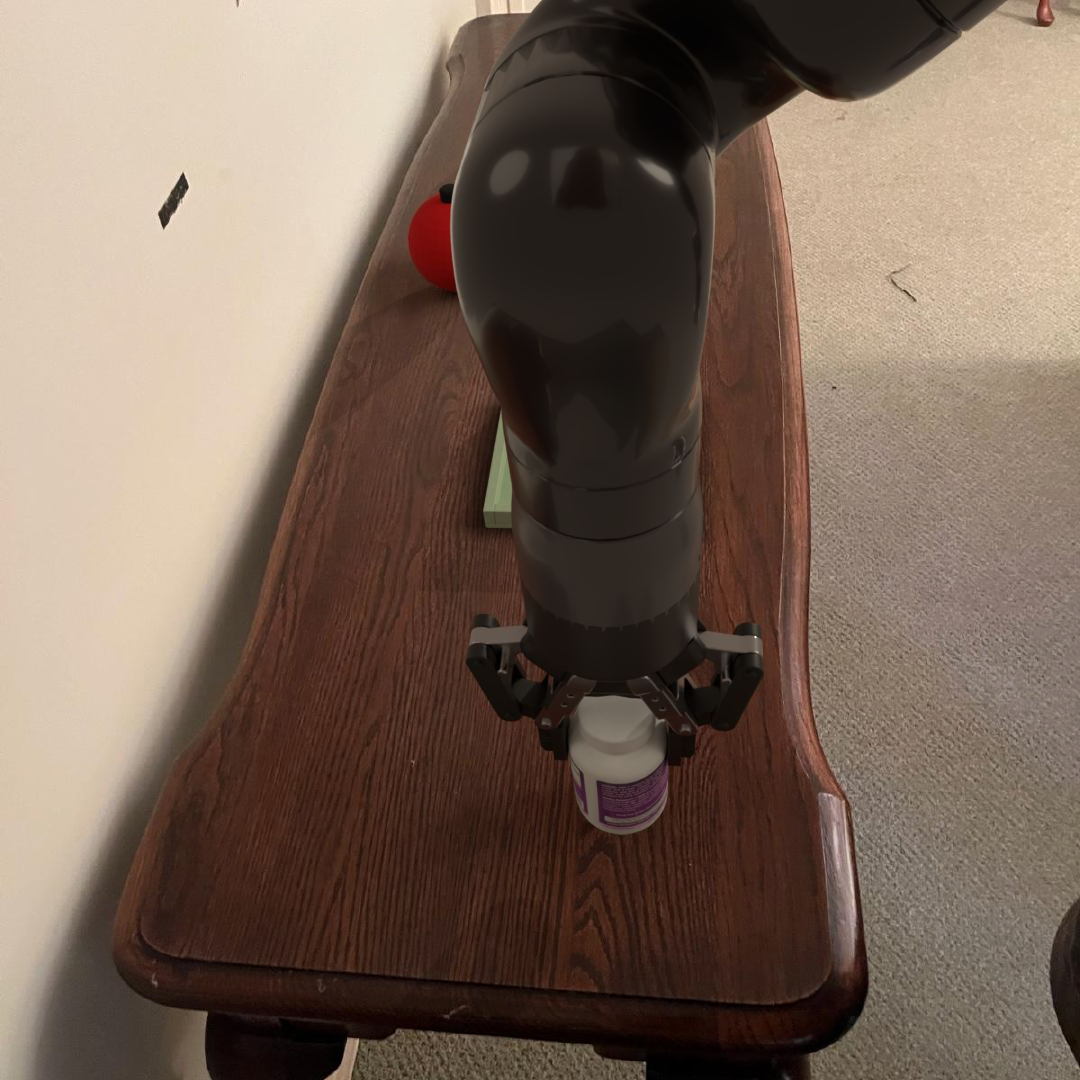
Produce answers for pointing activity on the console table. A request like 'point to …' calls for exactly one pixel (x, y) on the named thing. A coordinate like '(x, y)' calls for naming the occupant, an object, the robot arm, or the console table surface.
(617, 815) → the pill bottle
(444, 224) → the ornament
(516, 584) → the console table surface
